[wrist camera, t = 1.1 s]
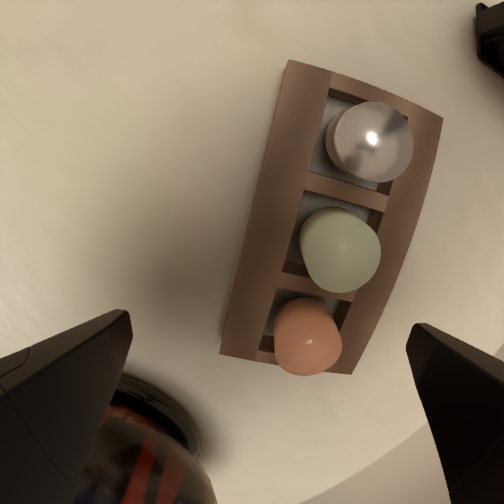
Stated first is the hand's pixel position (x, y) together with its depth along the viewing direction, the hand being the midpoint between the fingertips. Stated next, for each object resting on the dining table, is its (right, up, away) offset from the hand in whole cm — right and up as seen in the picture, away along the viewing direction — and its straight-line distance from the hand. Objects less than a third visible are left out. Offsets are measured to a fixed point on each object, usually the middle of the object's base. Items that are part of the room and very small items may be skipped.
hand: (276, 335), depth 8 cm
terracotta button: (+3, -2, +11) cm, 11 cm away
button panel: (+4, +4, +10) cm, 12 cm away
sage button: (+4, +3, +9) cm, 10 cm away
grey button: (+5, +9, +7) cm, 12 cm away
